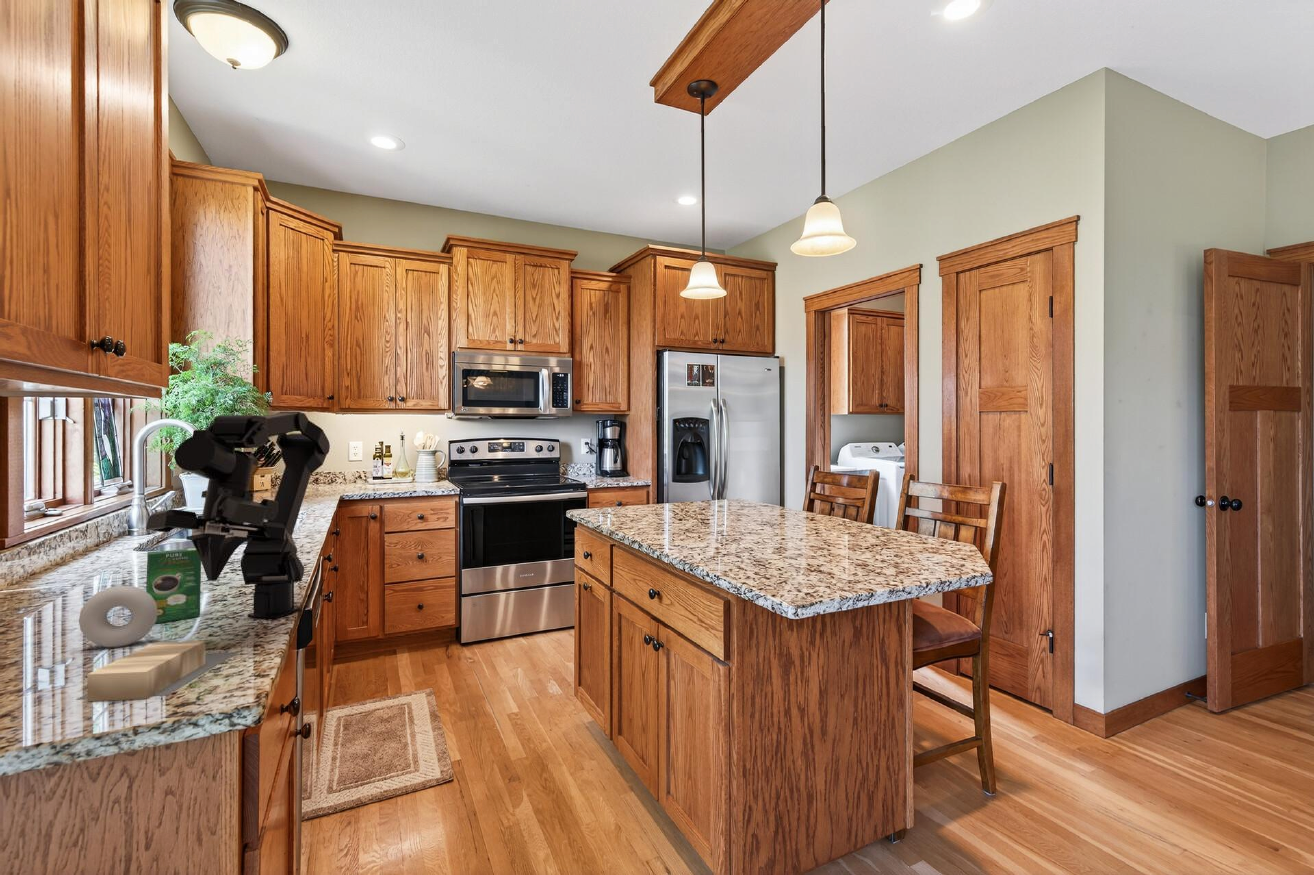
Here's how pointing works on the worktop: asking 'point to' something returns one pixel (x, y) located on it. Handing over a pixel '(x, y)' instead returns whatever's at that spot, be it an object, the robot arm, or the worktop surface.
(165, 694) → the rubber mat
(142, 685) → the birch block
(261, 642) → the worktop surface
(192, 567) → the coffee box
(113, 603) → the donut
